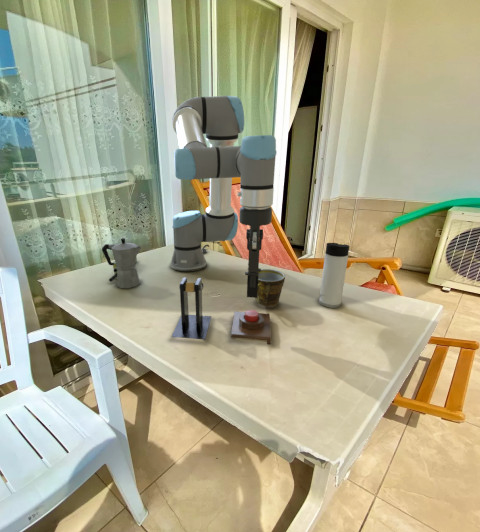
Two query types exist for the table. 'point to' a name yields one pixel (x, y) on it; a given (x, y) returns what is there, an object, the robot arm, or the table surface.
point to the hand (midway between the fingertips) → (252, 296)
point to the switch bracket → (188, 323)
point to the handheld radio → (115, 271)
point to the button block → (251, 327)
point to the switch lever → (191, 287)
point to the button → (251, 315)
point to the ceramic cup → (269, 287)
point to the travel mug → (333, 274)
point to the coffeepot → (124, 263)
